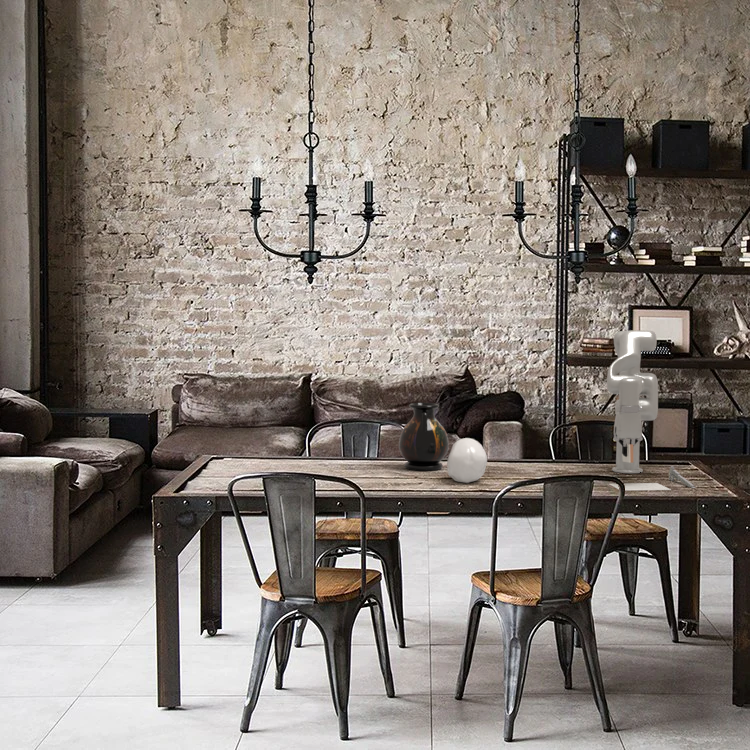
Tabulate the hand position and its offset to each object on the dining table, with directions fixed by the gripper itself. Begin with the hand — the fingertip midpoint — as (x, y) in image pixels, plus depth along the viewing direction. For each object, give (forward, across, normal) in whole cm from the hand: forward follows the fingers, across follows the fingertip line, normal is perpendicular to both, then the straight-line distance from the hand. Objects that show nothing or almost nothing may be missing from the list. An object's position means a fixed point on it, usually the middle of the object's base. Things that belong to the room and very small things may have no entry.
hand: (627, 455), depth 395 cm
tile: (+2, 0, +1) cm, 2 cm away
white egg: (+12, +61, -16) cm, 64 cm away
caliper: (+13, -23, -1) cm, 26 cm away
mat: (+12, -3, +7) cm, 14 cm away
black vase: (+13, +74, -46) cm, 88 cm away
